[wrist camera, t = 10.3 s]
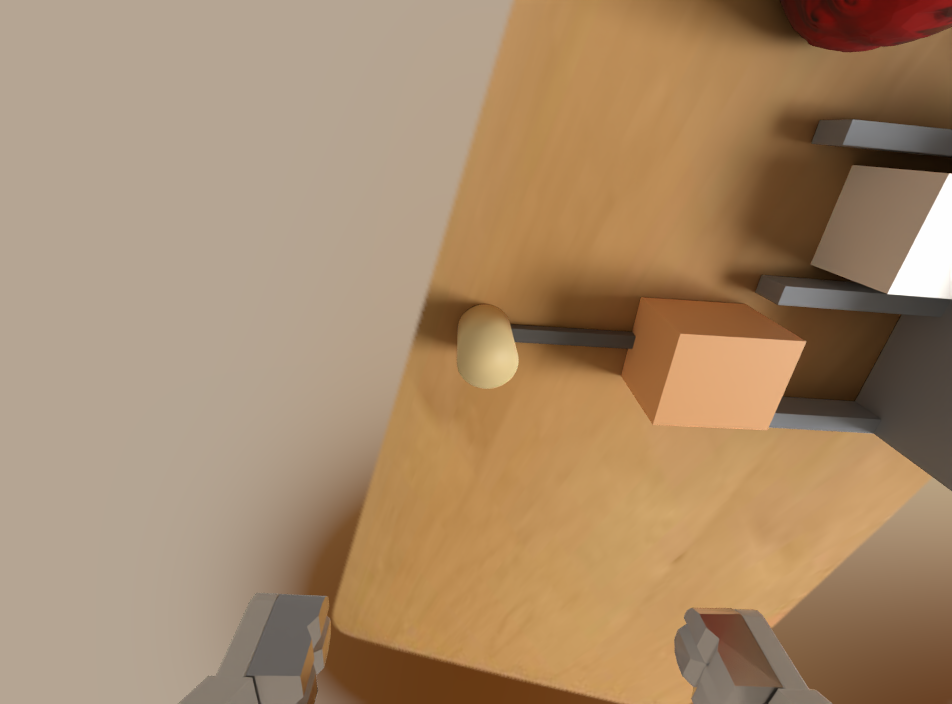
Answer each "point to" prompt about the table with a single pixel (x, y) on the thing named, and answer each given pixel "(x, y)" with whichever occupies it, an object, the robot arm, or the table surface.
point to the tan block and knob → (660, 359)
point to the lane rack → (909, 346)
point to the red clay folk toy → (866, 21)
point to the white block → (892, 232)
